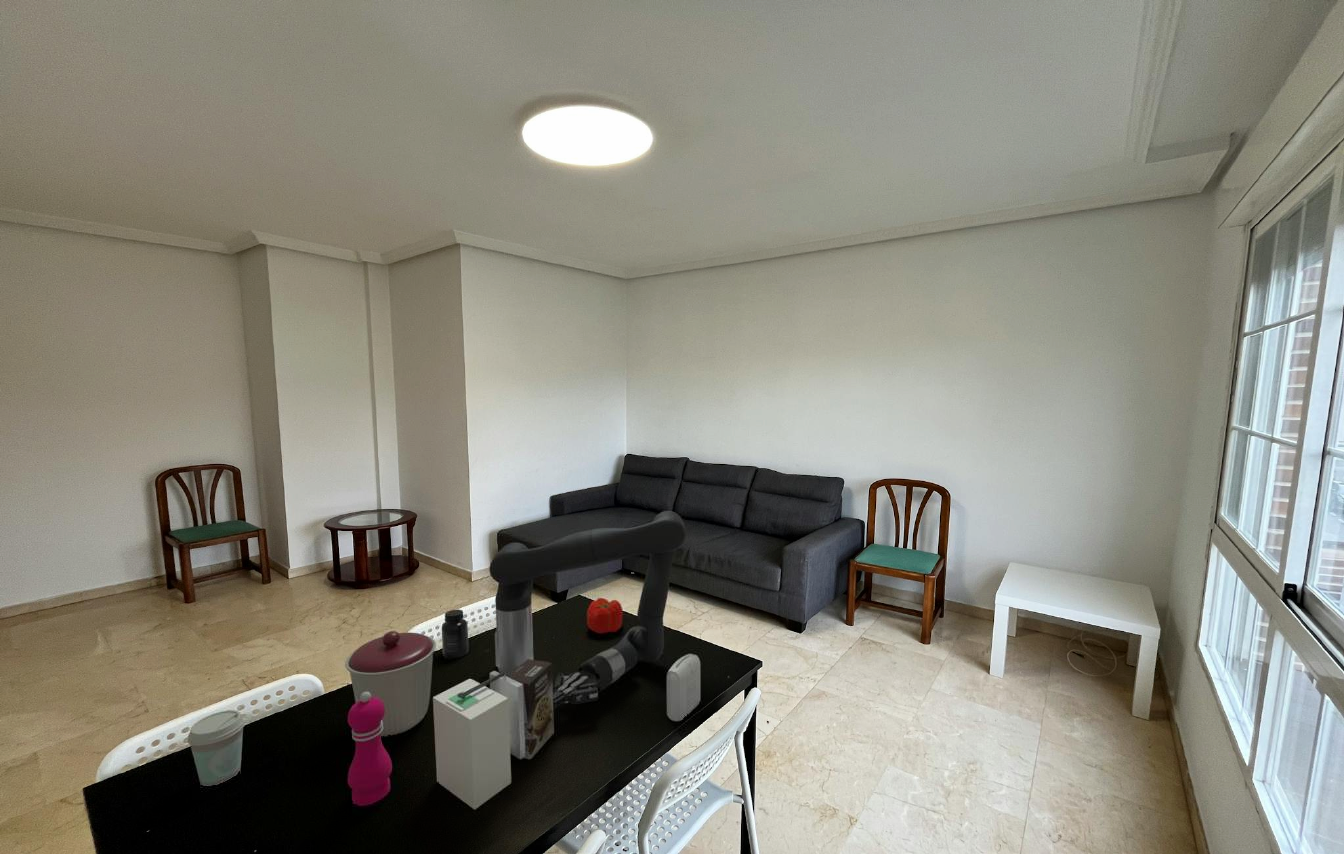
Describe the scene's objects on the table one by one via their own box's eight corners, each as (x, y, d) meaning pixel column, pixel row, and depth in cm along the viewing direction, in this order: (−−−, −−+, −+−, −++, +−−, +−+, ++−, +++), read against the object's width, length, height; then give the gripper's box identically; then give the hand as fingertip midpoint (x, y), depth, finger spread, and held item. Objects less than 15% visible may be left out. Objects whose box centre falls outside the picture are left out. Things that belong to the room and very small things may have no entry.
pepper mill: (360, 781, 105) (354, 682, 104) (399, 779, 106) (394, 680, 104) (341, 811, 98) (334, 705, 97) (383, 808, 99) (376, 702, 97)
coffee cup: (202, 803, 100) (196, 741, 99) (184, 785, 105) (179, 726, 104) (256, 774, 108) (252, 716, 107) (238, 759, 112) (233, 703, 111)
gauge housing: (437, 781, 105) (432, 695, 104) (473, 757, 112) (469, 676, 110) (474, 809, 98) (470, 717, 97) (511, 782, 105) (507, 695, 103)
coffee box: (531, 760, 111) (528, 684, 109) (504, 753, 113) (501, 678, 112) (555, 732, 119) (553, 662, 118) (530, 726, 122) (527, 657, 120)
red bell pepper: (579, 633, 166) (578, 604, 166) (604, 618, 176) (603, 591, 176) (607, 642, 161) (606, 612, 160) (631, 626, 171) (630, 598, 170)
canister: (453, 720, 124) (448, 630, 123) (366, 761, 111) (360, 661, 109) (419, 690, 137) (415, 608, 135) (338, 723, 124) (332, 633, 122)
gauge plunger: (450, 769, 106) (446, 687, 104) (497, 739, 114) (494, 663, 113) (478, 789, 100) (474, 703, 99) (525, 755, 109) (522, 676, 108)
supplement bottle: (474, 650, 156) (472, 609, 155) (455, 661, 150) (453, 619, 149) (456, 645, 159) (454, 605, 158) (437, 656, 153) (435, 615, 152)
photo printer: (687, 696, 133) (687, 647, 132) (703, 701, 131) (702, 651, 129) (664, 718, 124) (663, 666, 123) (680, 724, 122) (679, 671, 121)
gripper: (582, 647, 137) (527, 678, 123) (622, 663, 129) (569, 697, 115) (583, 676, 138) (528, 710, 124) (623, 693, 130) (570, 731, 116)
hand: (548, 704), depth 119 cm, fingers closed
